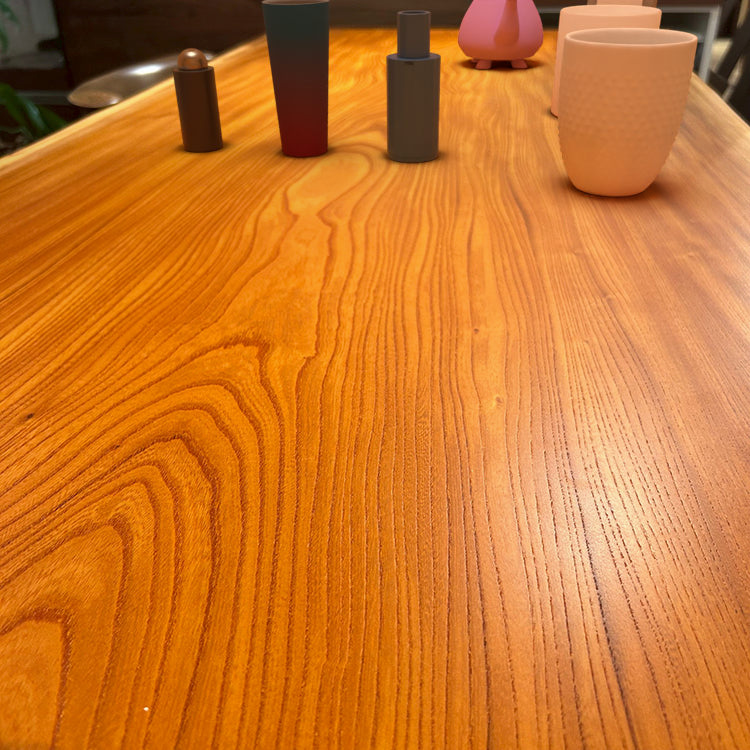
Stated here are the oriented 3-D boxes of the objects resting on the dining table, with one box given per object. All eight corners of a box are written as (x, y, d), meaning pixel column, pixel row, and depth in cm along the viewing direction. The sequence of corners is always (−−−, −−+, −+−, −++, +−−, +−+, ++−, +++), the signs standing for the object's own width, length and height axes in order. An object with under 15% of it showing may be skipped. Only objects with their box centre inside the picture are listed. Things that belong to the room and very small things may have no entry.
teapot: (553, 74, 122) (561, -14, 116) (463, 76, 122) (466, -12, 116) (531, 54, 139) (537, -23, 133) (452, 56, 139) (455, -22, 133)
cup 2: (532, 109, 101) (540, 8, 95) (601, 100, 105) (613, 2, 99) (592, 128, 92) (606, 17, 86) (665, 116, 96) (683, 10, 90)
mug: (540, 158, 81) (553, 22, 74) (648, 159, 80) (671, 21, 73) (555, 204, 68) (572, 45, 62) (684, 206, 67) (715, 44, 61)
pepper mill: (177, 151, 86) (162, 51, 81) (193, 141, 90) (180, 45, 85) (214, 152, 85) (201, 52, 80) (228, 142, 89) (217, 45, 84)
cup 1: (297, 163, 81) (286, 5, 74) (262, 150, 86) (248, 1, 78) (348, 151, 85) (343, 0, 77) (312, 139, 90) (303, -4, 82)
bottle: (383, 161, 81) (381, 15, 74) (392, 148, 86) (392, 9, 79) (434, 163, 80) (437, 15, 73) (441, 150, 85) (444, 9, 78)
